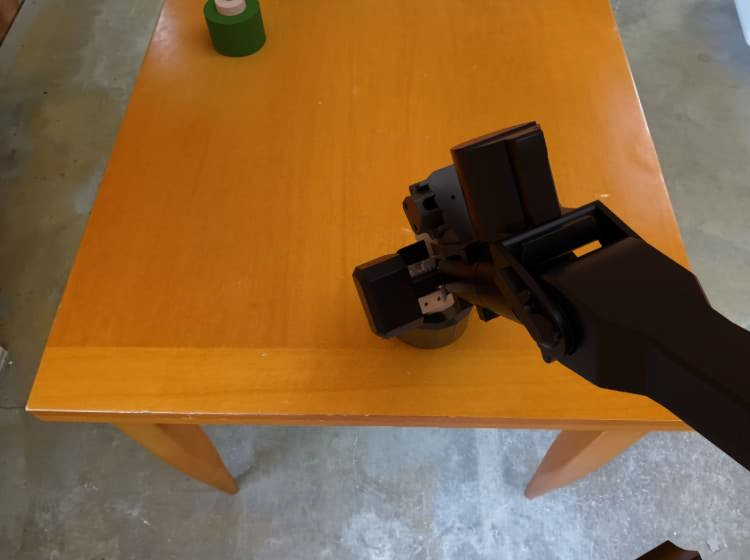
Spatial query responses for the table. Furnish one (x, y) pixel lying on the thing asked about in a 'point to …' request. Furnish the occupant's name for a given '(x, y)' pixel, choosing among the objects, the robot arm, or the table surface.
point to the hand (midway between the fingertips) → (427, 253)
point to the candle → (235, 26)
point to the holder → (438, 328)
